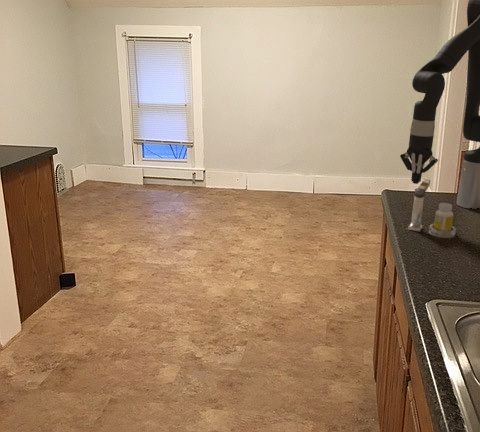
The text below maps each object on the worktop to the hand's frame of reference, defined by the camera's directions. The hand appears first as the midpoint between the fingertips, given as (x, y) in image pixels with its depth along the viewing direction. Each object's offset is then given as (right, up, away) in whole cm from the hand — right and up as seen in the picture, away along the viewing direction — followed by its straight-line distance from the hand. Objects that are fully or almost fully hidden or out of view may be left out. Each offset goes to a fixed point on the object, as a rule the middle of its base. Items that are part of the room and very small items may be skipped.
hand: (415, 183), depth 193 cm
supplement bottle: (+5, -17, -10) cm, 20 cm away
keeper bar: (+1, -3, -5) cm, 6 cm away
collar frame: (+2, -16, -9) cm, 19 cm away
